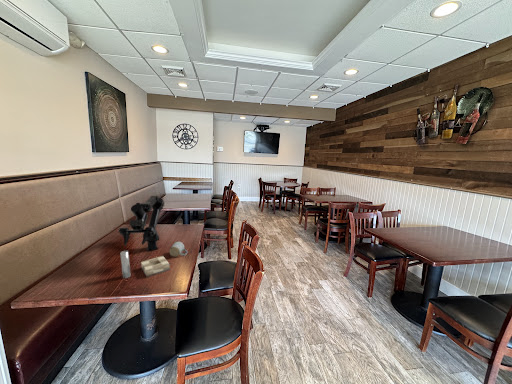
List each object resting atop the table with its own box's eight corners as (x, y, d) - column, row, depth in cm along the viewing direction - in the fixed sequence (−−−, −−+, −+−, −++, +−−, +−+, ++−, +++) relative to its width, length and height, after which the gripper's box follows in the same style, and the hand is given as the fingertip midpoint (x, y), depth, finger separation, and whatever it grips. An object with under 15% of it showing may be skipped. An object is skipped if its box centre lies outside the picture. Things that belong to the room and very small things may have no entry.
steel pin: (122, 276, 113) (119, 251, 111) (130, 273, 115) (127, 249, 113) (123, 279, 110) (120, 254, 108) (131, 276, 112) (128, 252, 110)
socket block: (141, 268, 121) (140, 261, 120) (163, 261, 128) (162, 255, 128) (146, 277, 112) (146, 270, 111) (169, 269, 119) (169, 263, 119)
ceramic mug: (168, 257, 134) (168, 246, 133) (173, 251, 142) (173, 241, 141) (185, 257, 134) (184, 246, 133) (189, 252, 142) (188, 241, 141)
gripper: (118, 214, 120) (109, 239, 111) (152, 213, 123) (146, 237, 113) (126, 224, 129) (118, 247, 120) (158, 223, 131) (152, 246, 122)
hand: (133, 244), depth 118 cm, fingers open, 9 cm apart
